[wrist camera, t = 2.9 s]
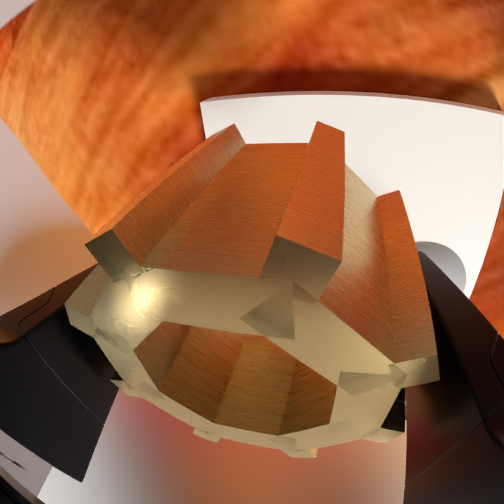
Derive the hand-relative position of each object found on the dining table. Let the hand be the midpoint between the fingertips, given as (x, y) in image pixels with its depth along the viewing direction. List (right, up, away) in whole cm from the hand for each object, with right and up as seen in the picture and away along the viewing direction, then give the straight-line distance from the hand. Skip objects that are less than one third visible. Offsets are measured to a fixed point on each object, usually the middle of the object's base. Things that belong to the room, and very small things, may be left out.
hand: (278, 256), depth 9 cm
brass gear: (0, +1, +1) cm, 1 cm away
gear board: (+6, +2, +9) cm, 11 cm away
